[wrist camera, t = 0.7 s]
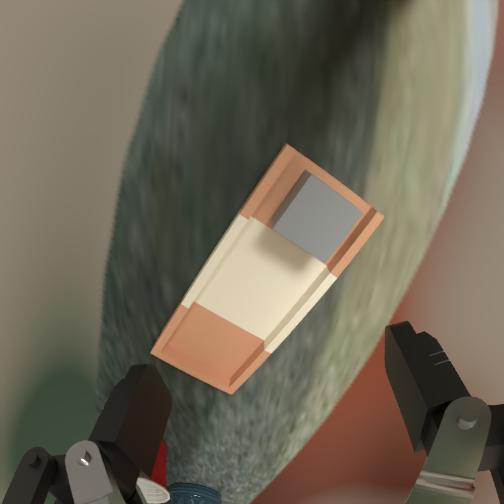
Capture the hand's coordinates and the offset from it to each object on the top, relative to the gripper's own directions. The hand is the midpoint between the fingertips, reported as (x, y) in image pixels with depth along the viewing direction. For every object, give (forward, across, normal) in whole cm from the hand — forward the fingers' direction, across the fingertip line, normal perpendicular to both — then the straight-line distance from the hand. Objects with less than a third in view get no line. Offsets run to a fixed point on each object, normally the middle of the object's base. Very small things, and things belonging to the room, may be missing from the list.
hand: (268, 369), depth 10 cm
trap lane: (+24, +3, +9) cm, 25 cm away
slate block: (+23, -4, +2) cm, 24 cm away
